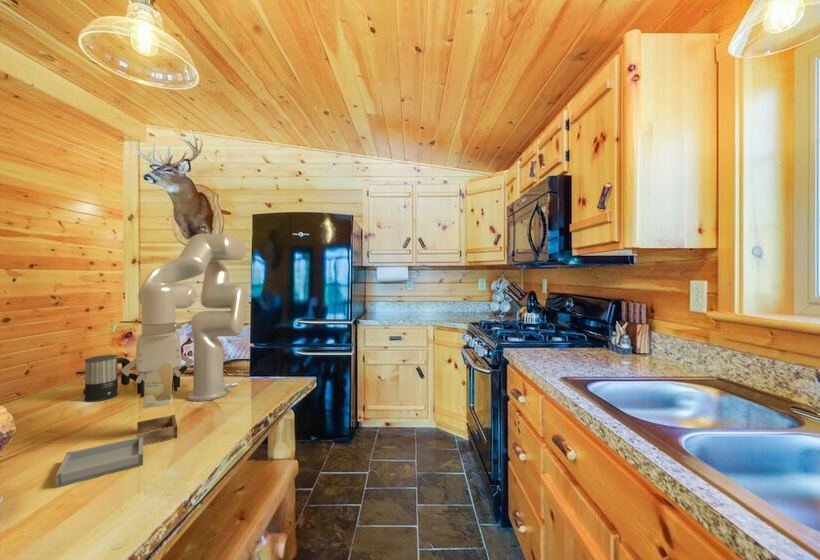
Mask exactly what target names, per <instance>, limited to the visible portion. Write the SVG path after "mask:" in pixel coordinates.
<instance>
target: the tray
mask: <svg viewBox="0 0 820 560" xmlns="http://www.w3.org/2000/svg"><path fill="white" fill-rule="evenodd" d="M139 465H142V466H143V465H144V446H143V437H139V438H137V437H133V438H129V439H124V440H119V441H115V442H110V443H105V444H101V445H96V446H95V445H94V446H93V447H87V448H82V449H78V450H73V451H69V452H65V455H64V457H63V459H62V462H61V464H60V465H59V468H58V470H57V472H56V475H55V488H60V487H64V486H67V485H68V486H69V485H72V484H76V483H80V482H83V481H87V480H88V481H89V480H91V479H95V478H98V476H99V477H103V476H106V475H105V474H107V475H111V474H115V473H118V472H121V471H122V472H123V471H125V470H130V469H133V468H132V467H134V468H136V467H135V466H138V467H140V466H139ZM129 468H130V469H129ZM110 473H111V474H110ZM102 475H103V476H102ZM79 481H80V482H79ZM75 482H76V483H75Z"/></svg>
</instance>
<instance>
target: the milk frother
mask: <svg viewBox="0 0 820 560" xmlns="http://www.w3.org/2000/svg"><path fill="white" fill-rule="evenodd" d="M118 356H119V355H116V354H106V355H105V354H104V355H96V356H91V357H87V358H84V362H85V364H84V366H85V368H84V369H85V370H84V371H85V373H84V375H85V377H84V380H85V382H84V383H85V385H84V389H83V390H82V393H83V394H84V399H83V401H84V402H86V401H87V403H88V402H89V403H90V402H91V403H92V402H93V401H94V402H101V401H106V400H111V399H113V398H116V397H117V396H118V395H119V393H118V385H119V384H118V378H119V377H118V364H121V369H122V368H124V367H125V366H126V365H127V364H129V363H130V362H131V361H130V359H128V358H126V357H118ZM131 369H132V368H131ZM131 369H130V371H132V370H131ZM120 379H121V380H120V384H121V385H123V386H127V385H129V384H130V381H131V379H130V378H129V377H128V376H126V375H125V374H124V373H122V372H121V376H120Z"/></svg>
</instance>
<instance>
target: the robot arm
mask: <svg viewBox="0 0 820 560" xmlns="http://www.w3.org/2000/svg"><path fill="white" fill-rule="evenodd" d="M186 243H187V244H186V245H185V247H184V248H183V249H182V251H181V253H180V254H179V256H178V258H176V259H174V260H171V261H169V262H167V263H165V264H163V265H160V266H159V267H157V268H155V269H154V270H153V271H151V272H150V273H149V275H148V276H146V279H144V281H143V283H142V284H141V286H140V287H139V290H138V293H137V299H138V302H139V304H140V305H141V306H140V308H141V309H140V310H141V334H139V335H137V339H136V345H135V346H136V347H135V358H134V359H133V360H132V361H130V363H129V364H127V365H126V366H125V367H124V368H122V367H121V371H120V372H121V373H124V374H125V375H126V376H128V377H129V378H130V380H132V381H134V382H135V383H136V391H137V393H136V394H137V395H139V394H140V398H144V382H145V373H146V372H151V371H156V370H158V369H159V368H160V367H161V366H162V365H163V364H164V363H170V362H173V364H172V368H173V372H174V381H173V392H178V388H180V387H181V376H182V375H183V374H184V373H185V372H186V371H187V370H188V368H190V367H191V365H192V364H193V384H192V385H193V386H192V387H193V391H191V392H190V393H188V395H187V398H188V400H189V401H192V402H204V401H211V400H212V401H213V400H216V399H219V398H222V397H224V396H226V395H228V389H229V388H231V389H232V388H236V387H237V386H238V383H237V381H227V382H225V380H224V345H223V344H222V341H220V339H219V338H218V337H237V336H239V335H242V333H243V331H244V327H245V320H246V319H245V318H246V314H247V313H246V312H247V304H248V292H247V289H246V287H245V286H244V285H242V284H238V283H229V280H230V272H229V270H228V268H227V267H226V266H225V265H224V264H223V263H222V262H221V261H241V260H243V259H244V258H245V256H246V252H247V247H246V244H245V243H244V241H243V240H242V239H241V238H238V237H235V236H233V235H230V234H225V233H197V234H195V235H193V236H191V238H190V239H189V240H188V242H186ZM203 273H204V276H203V282H202V288H201V293H200V304H201V306H202V307H204V308H206V309H230V310H204V311H200V312H197V313H195V314H193V316H192V318H191V319H190V320H191V321H190V327H191V333H192V339H193V359H192V358H190V357H189V356H187V355H185V354H183V353H182V348H181V340H180V334H179V332H178V331H177V330H179V329H182V323H177V322H176V309H188V308H190V307H191V306H193V305H194V304H195V302H197V299H198V293H197V290H196V288H195V287H194V286H192V285H191V284H188V283H177V282H181V281H185V280H190V279H192V278H196V277H198V276H200V275H203ZM182 361H184V362H185V363H184V364H183V365H182ZM181 365H182V366H181ZM134 367H135V370H136V372H137V373H138V374H136V373H134V372H133V371H132V370H131V371H130V369H132V368H134ZM179 367H180V368H179Z"/></svg>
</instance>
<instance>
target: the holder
mask: <svg viewBox="0 0 820 560" xmlns="http://www.w3.org/2000/svg"><path fill="white" fill-rule="evenodd" d="M136 423H137V425H136V427H137V428H136V429H137V430H136V431H137V432H136V438H139V437H143V445H145V446H147V445H146V444H149V445H151V444H150V443H153V444H155V443H154V442H157V443H159V442H158V441H162V440H166V439H170V440H172V439H171V438H175V439H178V423H177V420H176V414H173V415H167V416H162V417H157V418H151V419H146V420H141V421H137V422H136ZM169 426H172V427H169ZM164 427H167V428H164ZM159 428H162V429H159ZM156 429H157V430H156ZM151 430H153V431H151ZM147 431H148V432H147ZM142 432H143V433H142ZM138 433H139V434H138ZM166 441H167V440H166ZM162 442H163V441H162Z"/></svg>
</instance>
